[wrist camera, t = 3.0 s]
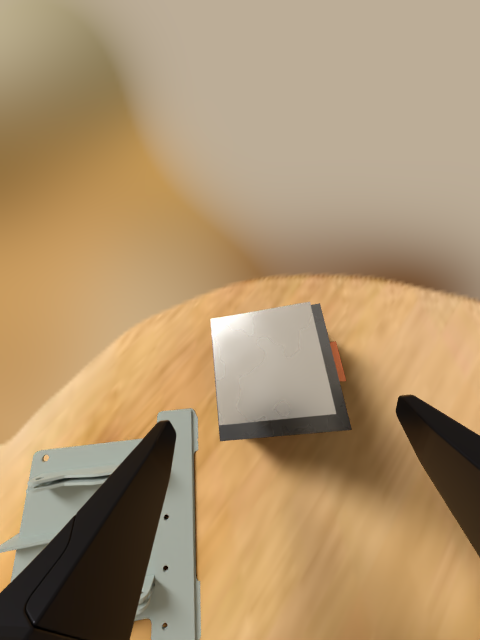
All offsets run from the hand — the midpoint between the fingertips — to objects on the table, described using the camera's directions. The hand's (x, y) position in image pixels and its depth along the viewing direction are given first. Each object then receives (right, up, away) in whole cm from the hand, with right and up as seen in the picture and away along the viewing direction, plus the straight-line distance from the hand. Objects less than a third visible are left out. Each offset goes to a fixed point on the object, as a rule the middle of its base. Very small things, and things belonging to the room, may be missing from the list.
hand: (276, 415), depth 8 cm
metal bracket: (-11, -12, +10) cm, 19 cm away
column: (+1, 0, +8) cm, 8 cm away
